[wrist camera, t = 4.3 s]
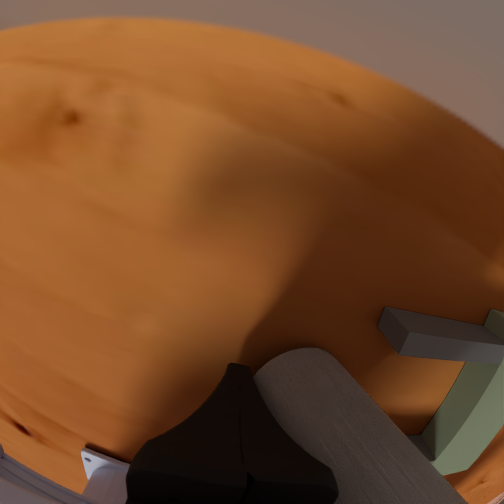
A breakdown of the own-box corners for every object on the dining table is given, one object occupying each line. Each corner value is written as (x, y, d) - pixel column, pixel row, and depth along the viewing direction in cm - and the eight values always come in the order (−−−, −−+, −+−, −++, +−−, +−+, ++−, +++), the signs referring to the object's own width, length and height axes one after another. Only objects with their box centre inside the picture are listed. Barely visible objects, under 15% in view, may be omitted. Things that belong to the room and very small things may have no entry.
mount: (454, 448, 15) (467, 469, 13) (310, 455, 15) (316, 487, 12) (530, 318, 13) (554, 334, 10) (393, 284, 12) (419, 307, 10)
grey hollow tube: (259, 433, 13) (349, 611, 4) (229, 372, 12) (344, 621, 2) (342, 396, 14) (464, 543, 4) (331, 328, 12) (513, 508, 3)
